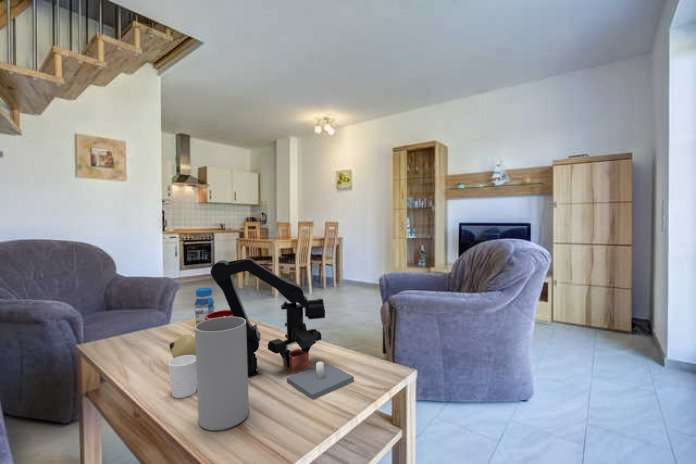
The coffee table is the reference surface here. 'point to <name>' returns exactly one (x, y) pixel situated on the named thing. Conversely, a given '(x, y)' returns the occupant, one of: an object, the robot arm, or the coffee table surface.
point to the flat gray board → (319, 380)
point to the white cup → (183, 376)
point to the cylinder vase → (221, 372)
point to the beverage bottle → (203, 304)
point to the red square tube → (297, 361)
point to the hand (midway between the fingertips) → (296, 364)
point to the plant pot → (219, 314)
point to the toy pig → (183, 346)
